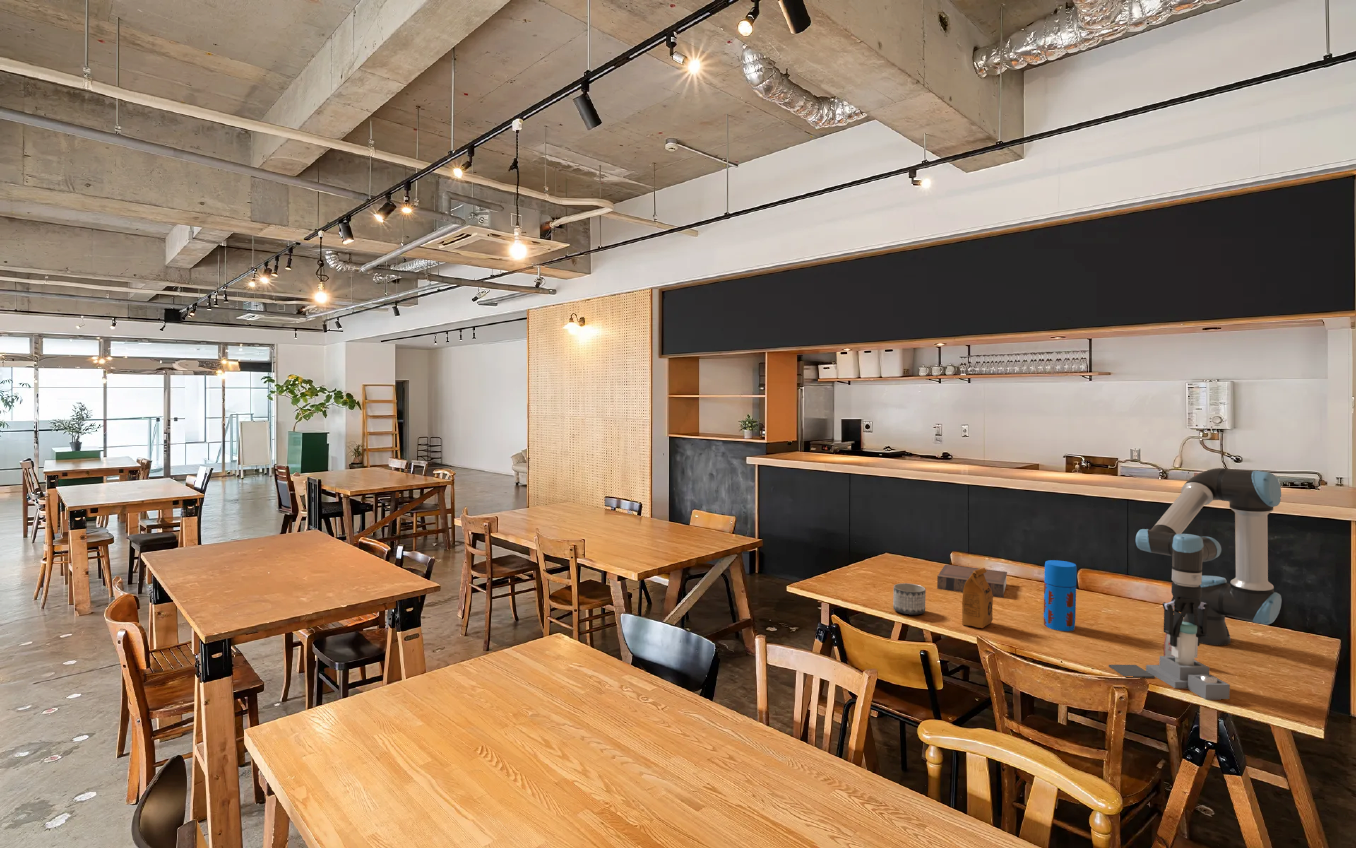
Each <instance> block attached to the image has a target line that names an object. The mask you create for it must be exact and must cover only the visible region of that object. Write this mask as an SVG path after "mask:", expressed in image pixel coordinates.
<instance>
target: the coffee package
mask: <svg viewBox="0 0 1356 848" xmlns="http://www.w3.org/2000/svg"><path fill="white" fill-rule="evenodd" d="M986 569H987V568H985V567H982V568H978V570H975V571H974V572H973V573H972V575H971V576H970V577H969V579H968V580H967V581H966V583H965V585H964V590H963V592H962V600H961V610H962V614H961V615H962V617H961V619H962V620H961V624H962V625H963V626H968V627H973V628H978V629H979V628H981V629H983V628H985V627H986V626H988V625H990V624H991V623H992V622H993V619H994V618H993V617H994V616H993V606H994V605H993V603H994V596H993V595H992V591H991V588H990V586H989V585H988V583H987V582H986V579H985V576H984V573H986V572H987V571H986Z"/></svg>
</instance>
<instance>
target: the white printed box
mask: <svg viewBox="0 0 1356 848" xmlns="http://www.w3.org/2000/svg"><path fill="white" fill-rule="evenodd" d="M1171 654H1172V646H1171V645H1170V635H1169V634H1167V633H1164V641H1163V656H1173V655H1171Z"/></svg>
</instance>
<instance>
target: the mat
mask: <svg viewBox="0 0 1356 848" xmlns="http://www.w3.org/2000/svg"><path fill="white" fill-rule="evenodd" d="M1108 667H1109V668H1110V669H1112V670H1113V669H1114V671H1115V672H1117V673H1118V674H1120V675H1121V676H1123V677H1124V676H1133V677H1145V678H1144V679H1154V678H1156V677H1155V676H1154V675H1152V674H1150V673H1149V672H1147V671H1146V669H1144V668H1143V667H1140V666H1139V665H1137V664H1108Z"/></svg>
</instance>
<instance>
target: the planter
mask: <svg viewBox="0 0 1356 848" xmlns="http://www.w3.org/2000/svg"><path fill="white" fill-rule="evenodd" d="M926 589H927V588H925V586H922V585H920V584H915V583H907V582H905V583H904V582H903V583H897V584H894V585H893V596H892V597H893V600H892V601H893V603H892V605H893V610H894V611H895V612H898V613H900V614H904V615H906V614H909V615H908V616H915V615H916V616H917V615H922V614H925V613H926V597H927V596H926V593H927V592H926Z"/></svg>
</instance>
